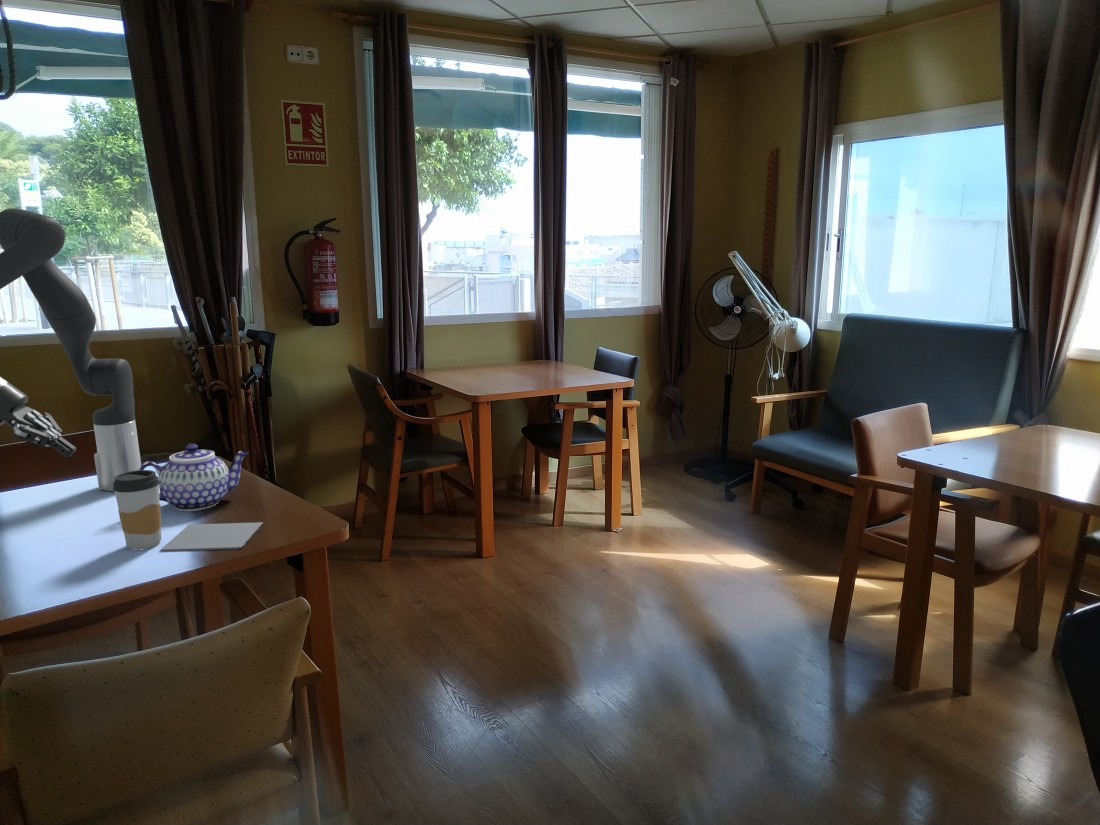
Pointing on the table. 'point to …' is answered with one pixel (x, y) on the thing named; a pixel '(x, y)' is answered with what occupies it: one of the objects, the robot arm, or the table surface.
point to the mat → (212, 536)
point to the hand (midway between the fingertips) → (72, 453)
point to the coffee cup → (139, 508)
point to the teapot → (196, 478)
